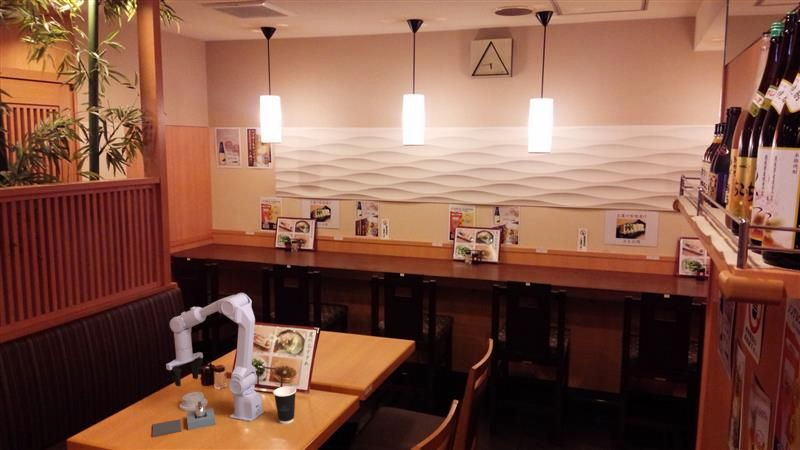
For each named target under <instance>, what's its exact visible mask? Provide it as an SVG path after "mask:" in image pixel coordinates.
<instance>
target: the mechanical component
mask: <svg viewBox="0 0 800 450" xmlns="http://www.w3.org/2000/svg"><path fill="white" fill-rule="evenodd" d="M199 401H200V402H201V404H204V407H205V408H206V407H207V406H208V403H209V402H208V399H207V398H206V397H205V396H204V392H201V391H193V392H192V391H191V392H189V393H186V394H184V395H183V396H182V401H181V402H180V404H179V409H180V410H181V411H183V412H194V411H196V408H195V406H196V405H198V402H199Z"/></svg>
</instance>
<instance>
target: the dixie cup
mask: <svg viewBox="0 0 800 450" xmlns="http://www.w3.org/2000/svg"><path fill="white" fill-rule="evenodd" d="M296 392H297V388H296V387H293V386H281V387H278V388H276V389H274V390H273V392H272V394H273V395H274V400H275V406H276V411H277V413H276V414H277V416H278V420H279V423H280V424H283V425H287V424H291V423H293V422H294V418H295V408H296V407H295V406H296Z"/></svg>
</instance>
